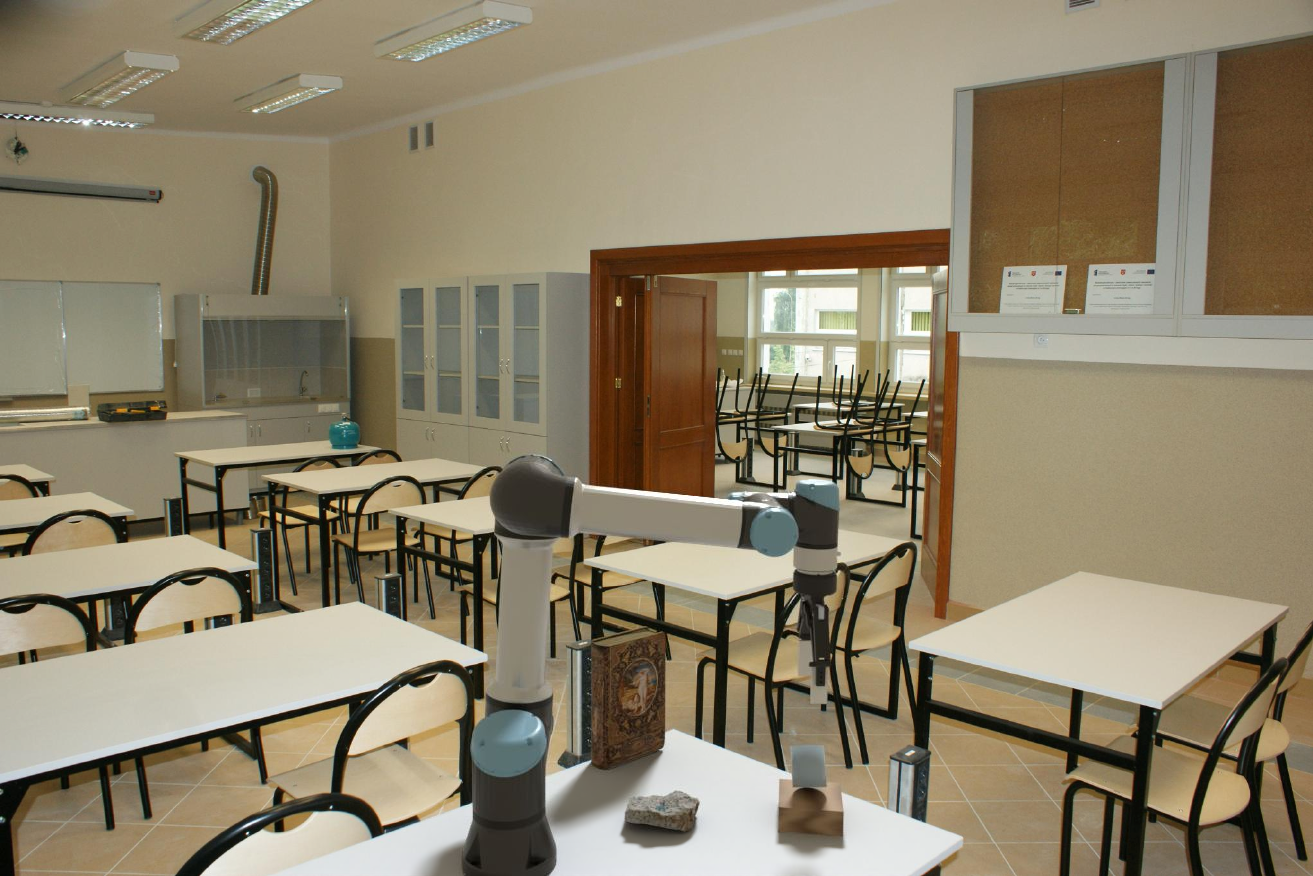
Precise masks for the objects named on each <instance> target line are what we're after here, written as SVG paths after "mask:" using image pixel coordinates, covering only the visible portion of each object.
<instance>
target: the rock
mask: <svg viewBox="0 0 1313 876" xmlns="http://www.w3.org/2000/svg"><path fill="white" fill-rule="evenodd" d="M700 804H701V803H700V800H699V798H698V797H693V796H691V795H690V794H687V793H686V792H683V791H681V790H674V791H673V792H670V793H668V794H666V795H664V796H663V795H654V794H653V795H650V796H642V795H638V796H631V797H629V798H628V803H627V807H626V809H625V810H624V821H625V822H627V823H631V824H640V825H641V824H646V825H650V826H655V827H660V828H665V829H668V830H674V831H675V830H676V831H682V832H687V831H689V830H690V829H692V827H694V825H695V820H696V815H697V813H698V810H699V806H700Z"/></svg>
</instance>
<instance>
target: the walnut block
mask: <svg viewBox="0 0 1313 876" xmlns="http://www.w3.org/2000/svg"><path fill="white" fill-rule="evenodd" d="M778 782H779V783H778V784H779V785H778V826H777V828H778V829H777V830H778V832H779V833H780V832H781V833H795V834H806V835H807V834H808V835H809V834H810V835H818V836H819V835H821V836H823V835H824V836H832V837H833V836H835V837H843V836H844V819H845V818H844V814H845V813H844V812H845V811H844V803H843V795H842V788H841V782H834V781H833V782H829V781H826V783H827V787H793V786H792V779H789V778H788V779H787V778H786V779H784V778H779V781H778Z"/></svg>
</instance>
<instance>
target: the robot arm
mask: <svg viewBox="0 0 1313 876" xmlns="http://www.w3.org/2000/svg"><path fill="white" fill-rule="evenodd" d="M839 488H840V487H839V486H838V484H836V483H835V482H834V481H831V480H825V479H800V480H798V481H797V482H796V484H795V488H794V489H793V490H794V491H789V492H770V491H769V492H765V491H764V492H763V491H761V492H760V491H759V492H757V491H748V490H745V491H741V492H740V491H738V492H730V493H728V495H727V497H726V499H722V498H713V497H706V496H705V497H704V496H696V495H694V496H693V495H683V494H676V493H665V492H656V491H655V492H654V491H648V490H635V489H629V488H618V487H610V486H609V487H608V486H599V485H598V486H596V485H589V484H584V483H583V482H581V480H580V479H579V478H578V477H575V476H573V477H572V476H568V475H567V476H566V475H565V474H564V471H563V470H562V469H561V467H560V466H559V465H558V464H557V463H556V462H555V461H553V460H552V459H551V458H549V457H547V456H544V455H540V454H533V453H532V454H524V455H519V456H517V457H515V458H513V459H511V460H510V461H509V462H507V464H506V465H505V466H503V469H501V471H500V472H499V474H498V475H497V476H496V477H495V479H494V481H493V482H492V485H491V488H490V491H489V506H490V509H491V510H490V511H491V512H492V515H493V516H494V530H493V533H494V534H493V535H494V536H495V537H496V538H497V539H498V540H499V541H500V542H501V544H502V550H501V551H502V552H501V570H500V585H499V587H500V588H499V589H500V590H499V606H498V626H497V627H498V628H497V643H496V663H495V664H496V665H495V677H494V679H493V680H492V681H491V682H490V683H488V684H487V685H486V687H485V703H484V717H483V718H481V719H480V720H479V721H478V722H477V723H476V725H475V726H474V727H473V731H472V734H471V735H472V736H471V740H470V741H471V742H470V755H471V775H472V776H471V781H472V783H471V787H472V788H471V790H472V791H471V792H472V793H471V795H472V796H471V797H472V799H471V800H472V804H471V805H472V820H471V823H470V827H469V829H468V833H467V835H466V836H467V837H466V840H465V842H464V845H463V849H462V853H461V869H462V870H463V871H462V873H463V875H464V874H465V875H464V876H549V875H550V874H551V873H552V872H553V871H554V869H555V867H556V865H557V863H558V862H557V855H558V854H557V853H558V851H557V850H558V849H557V844H556V841H555V838H554V835H553V832H552V829H551V826H550V824H549V820H548V818H547V814H546V808H547V807H546V803H547V802H546V799H547V798H546V795H547V794H546V771H547V770H546V769H547V761H548V754H549V748H550V743H551V738H552V735H553V731H554V725H555V724H554V719H555V718H554V715H553V709H554V707H553V705H554V704H553V703H554V688H553V686H552V684H550V683H549V682H548V680H547V679H546V675H547V674H546V672H547V657H548V656H547V655H548V643H549V642H548V641H549V640H548V637H549V624H550V623H549V620H550V606H551V605H550V604H551V602H550V601H551V591H552V590H551V587H552V586H551V584H552V573H553V572H552V570H553V557H554V555H553V554H554V545H555V544H556V543H558V542H559V541H560V540H561V539H562V538H563V539H572V538H574V537H575V536H576V535H577V534H586V535H587V534H589V535H600V536H609V537H621V538H630V539H640V540H649V541H651V540H652V541H661V542H669V543H670V542H671V543H672V542H673V543H682V544H691V545H702V546H712V547H722V548H730V549H731V548H732V549H741V550H748V551H757V552H758V553H759V554H762V555H764V556H767V557H768V558H769V557H770V558H779V557H783V556H786V555H787V554H788V553H789V552H790V553H791V551H792V550H793V559H792V564H793V565H792V566H793V567H794V568H795V569H794V570H793V572H792V589H793V591H794V592H795V593H796V594H798V595H799V594H800V601H799V610H798V618H797V624H796V625H797V626H796V632H797V633H798V634H797V637H798V647H797V648H798V651H797V652H798V654H797V676H798V677H810V692H809V693H810V696H809V697H810V698H809V703H810V704H811V705H814V704H815V705H818V704H819V705H827V704H828V686H829V685H828V684H829V681H828V679H829V676H828V675H829V668H831V666H832V659H831V656H832V655H831V641H830V640H831V638H830V623H829V621H830V620H829V619H830V618H829V617H830V615H829V614H830V613H829V612H830V608H829V606H828V605H827V604H825V598H826V597H828V596H829V597H830V596H833V595H834V594H836V592H837V591H838V590H837V589H838V573H837V572H836V570H837V568H838V557H841V555H842V552H841V551H840V550H839V547H838V545H839V544H838V543H839V527H840V525H839V521H840V511H841V507H840V489H839Z"/></svg>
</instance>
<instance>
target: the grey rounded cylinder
mask: <svg viewBox="0 0 1313 876" xmlns="http://www.w3.org/2000/svg"><path fill="white" fill-rule="evenodd" d="M789 746H790V747H789V748H790V763H791V766H790V767H791V780H792V786H793V787H827V783H826V782H827V772H826V769H827V768H826V756H825V755H826V754H825V745H822V744H820V745H819V744H807V745H806V744H805V745H804V744H803V745H801V744H800V745H798V744H797V745H789Z"/></svg>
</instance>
